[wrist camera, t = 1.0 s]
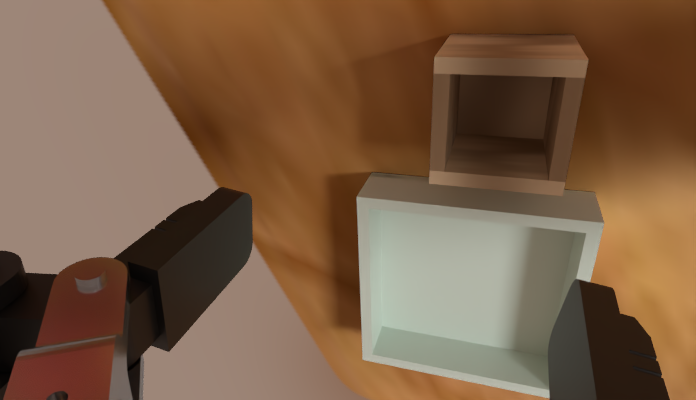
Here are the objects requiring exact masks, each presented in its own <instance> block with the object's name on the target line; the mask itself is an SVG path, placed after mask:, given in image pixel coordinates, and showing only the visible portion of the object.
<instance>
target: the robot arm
mask: <svg viewBox="0 0 696 400" xmlns="http://www.w3.org/2000/svg"><path fill="white" fill-rule="evenodd" d="M252 243H253V238H252V199H251V196H250V195H249V194H247V193H244V192H240V191H236V190H232V189H228V188H224V187H221V188H219V189H217V190H216V191H215V192H214V193H212V194H211V195H210V196H208V197H207V198H206V199H205V200H203V201H200V200H198V201H195V202H193V203H190V204H188V205H185V206H183V207H180V208H179V209H177V210H176V211H175V212H173V213H172V214H171V215H170V216H168V217H167V218H166V221H165V220H163V221H162V222H161V223H159V224H158V225H157V226H156V227H155V229H151V230H150V231H149V232H147V233H146V234H145V235H144V236H142V237H141V238H140V239H138V240H137V241H136V242H134V243H133V244H132V245H130V246H129V247H128V248H127V249H125V250H124V251H123V252H121V253H120V254H119V255H118V256H116V257H115V258H114V259H113V258H106V257H97V258H90V259H85V260H82V261H79V262H76V263H74V264H72V265H70V266H68V267H66V268H65V269H63V270H62V271H61V272H60V273H59V274H58V275H57V274H38V273H25V270H24V267H23V264H22V261H21V258H20V257H19V256H18V255H16V254H15V253H12V252H8V251H0V400H143V378H144V359H143V353H144V352H145V351H146V350H147V349H148V348H149V347H150V346H154V347H157V348H160V349H163V350H165V351H170V350H171V349H172V348H173V347H174V346H175V344H176V343H177V342H178V341H179V340H180V339H181V338H182V336H183V335H184V334H185V333H186V332H187V331H188V330H189V328H190V327H191V326H192V325H193V324H194V323H195V322H196V320H197V319H198V318H199V317H200V316H201V314H202V313H203V312H204V311H205V310H206V309H207V308H208V306H209V305H210V304H211V303H212V302H213V301H214V300H215V299H216V297H217V296H218V295H219V294H220V293H221V292H222V291H223V289H224V288H225V287H226V286H227V285H228V284H229V283H230V281H231V280H232V279H233V278H234V277H235V276H236V275H237V273H238V272H239V271H240V270H241V269H242V268H243V267H244V265H245V264H246V262H247V261H248V258H249V256H250V253H251V250H252ZM656 358H657V357H656V353H655V350H654V347H653V344H652V340H651V337H650V336H649V335H648V334H647V332H646V331H645V330H644V329H643V327H642V326H641V325H640V324H639V322H638V321H637V320H636V319H635V317H631V316H627V315H623V314H620V312H619V308H618V304H617V299H616V295H615V292H614V289H613V288H611V287H607V286H603V285H599V284H595V283H591V282H587V281H583V280H579V279H575V280H574V281H573V283H572V284H571V286H570V289H569V291H568V293H567V296H566V298H565V301H564V303H563V305H562V308H561V310H560V312H559V315H558V317H557V320H556V322H555V324H554V327H553V329H552V332H551V336H550V340H549V346H548V374H549V395H550V400H670V399H669V396H668V392H667V389H666V386H665V383H664V379H663V378H661V375H662V373H661V370H660V366H659V363H658V361H656Z"/></svg>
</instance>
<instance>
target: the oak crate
mask: <svg viewBox="0 0 696 400" xmlns="http://www.w3.org/2000/svg"><path fill="white" fill-rule="evenodd" d="M588 61H589V60H588V58H587V56H586V55H585V53H584V51H583V50H582V48H581V46H580V45H579V43H578V41H577V39H576V38H575V36H574V34H450V36H449V37H448V39H447V40H446V41H445V43H444V44H443V46H442V47H441V48H440V50H439V51H438V53H437V54H436V55H435V57H434V76H433V100H432V125H431V149H430V173H429V184H438V185H449V186H459V187H470V188H481V189H491V190H502V191H512V192H523V193H534V194H544V195H555V196H563V193H564V187H565V182H566V177H567V172H568V166H569V161H570V156H571V150H572V145H573V140H574V135H575V129H576V124H577V119H578V113H579V108H580V103H581V98H582V92H583V87H584V82H585V76H586V71H587V66H588Z"/></svg>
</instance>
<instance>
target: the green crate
mask: <svg viewBox="0 0 696 400" xmlns="http://www.w3.org/2000/svg"><path fill="white" fill-rule="evenodd" d="M357 222H358V248H359V274H360V300H361V326H362V352H363V360H367V361H371V362H376V363H381V364H386V365H391V366H396V367H400V368H405V369H410V370H415V371H420V372H425V373H429V374H434V375H439V376H444V377H449V378H454V379H458V380H463V381H468V382H473V383H478V384H483V385H487V386H492V387H497V388H502V389H507V390H512V391H517V392H521V393H526V394H531V395H536V396H541V397H546V398H550V395H549V374H548V346H549V340H550V336H551V332H552V329H553V327H554V324H555V322H556V320H557V317H558V315H559V312H560V310H561V308H562V305H563V303H564V301H565V298H566V296H567V293H568V291H569V289H570V286H571V284H572V283H573V281H574V280H575V279H579V280H583V281H587V282H590V280H591V276H592V272H593V268H594V264H595V260H596V255H597V251H598V247H599V243H600V239H601V235H602V231H603V227H604V220H603V217H602V214H601V211H600V207H599V204H598V201H597V197H596V194H595V192H587V191H576V190H564V193H563V196H555V195H544V194H534V193H523V192H512V191H502V190H491V189H481V188H470V187H459V186H449V185H438V184H429V177H420V176H409V175H398V174H387V173H376V172H372V173H371V175H370V176H369V178H368V179H367V181H366V182H365V184H364V186H363V187H362V189H361V190H360V192H359V194H358V195H357Z"/></svg>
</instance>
